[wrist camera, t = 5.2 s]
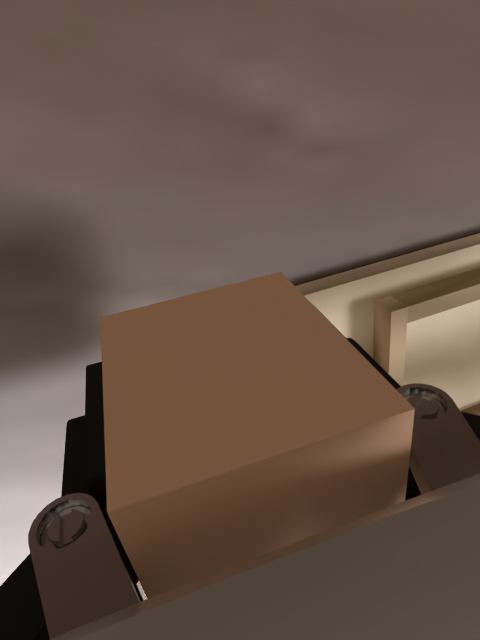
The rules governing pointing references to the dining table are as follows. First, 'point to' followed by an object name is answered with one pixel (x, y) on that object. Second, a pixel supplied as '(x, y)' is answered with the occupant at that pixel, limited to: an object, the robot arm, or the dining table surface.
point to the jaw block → (241, 429)
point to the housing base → (414, 316)
